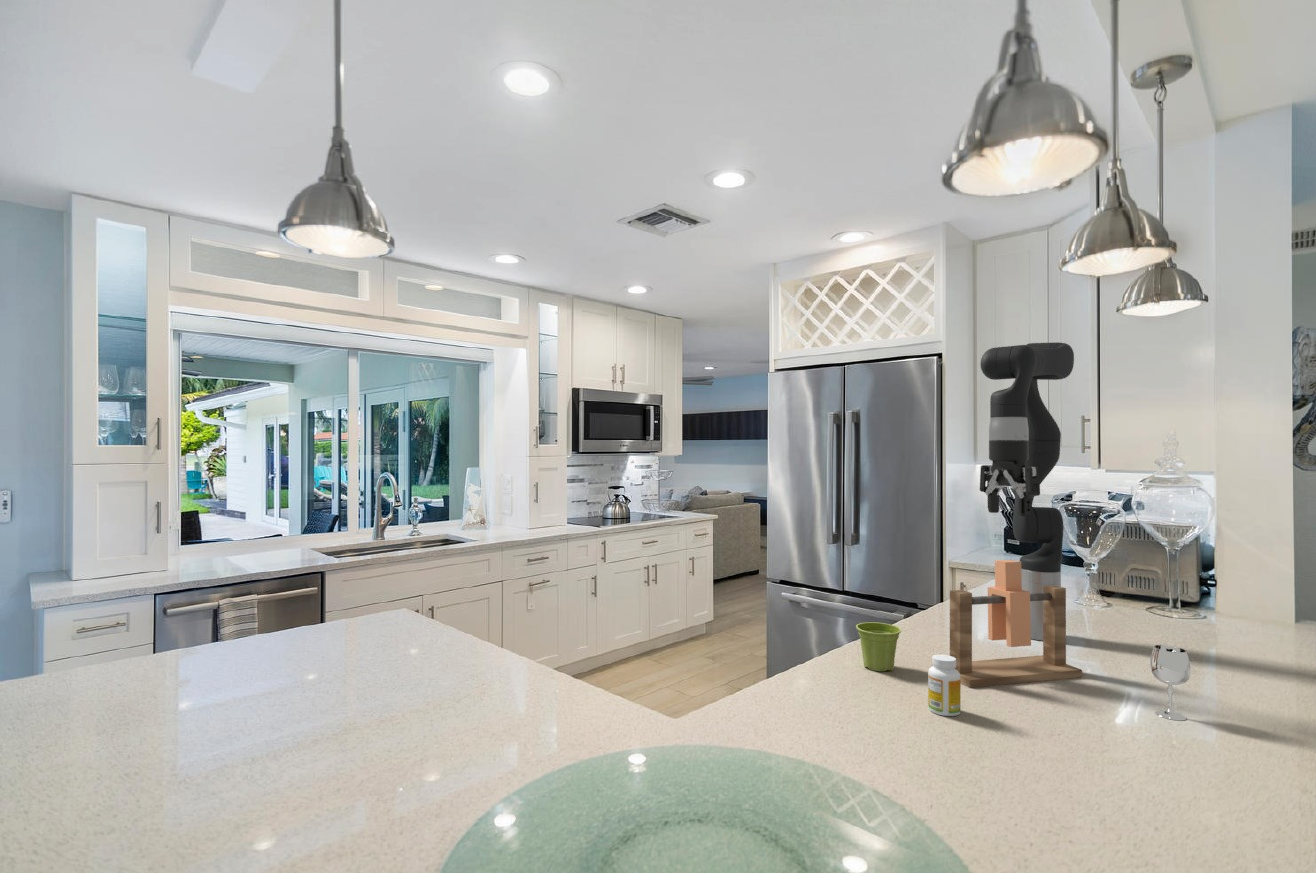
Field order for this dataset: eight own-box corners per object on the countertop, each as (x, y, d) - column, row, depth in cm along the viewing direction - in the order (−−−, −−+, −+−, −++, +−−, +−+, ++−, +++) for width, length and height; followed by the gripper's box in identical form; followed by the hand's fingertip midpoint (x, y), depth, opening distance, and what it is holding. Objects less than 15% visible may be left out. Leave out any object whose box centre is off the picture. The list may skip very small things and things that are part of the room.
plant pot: (853, 671, 140) (854, 630, 140) (857, 658, 149) (858, 620, 149) (900, 677, 137) (900, 635, 137) (901, 663, 145) (901, 624, 145)
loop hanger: (988, 639, 142) (987, 559, 142) (1007, 637, 143) (1006, 558, 144) (1010, 647, 135) (1009, 563, 136) (1031, 645, 137) (1029, 562, 137)
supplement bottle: (958, 707, 121) (958, 654, 121) (962, 718, 115) (962, 663, 116) (927, 703, 122) (927, 651, 123) (929, 714, 117) (929, 660, 117)
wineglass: (1185, 712, 119) (1184, 646, 120) (1195, 724, 114) (1195, 655, 114) (1146, 706, 122) (1146, 642, 122) (1155, 718, 117) (1154, 650, 117)
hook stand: (936, 671, 141) (936, 587, 141) (1043, 661, 148) (1043, 582, 148) (969, 687, 131) (969, 597, 131) (1082, 676, 138) (1081, 591, 138)
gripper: (1050, 438, 134) (1050, 517, 134) (998, 439, 148) (998, 511, 148) (1020, 438, 132) (1020, 518, 132) (970, 439, 146) (970, 511, 146)
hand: (1008, 514), depth 140 cm, fingers open, 8 cm apart
